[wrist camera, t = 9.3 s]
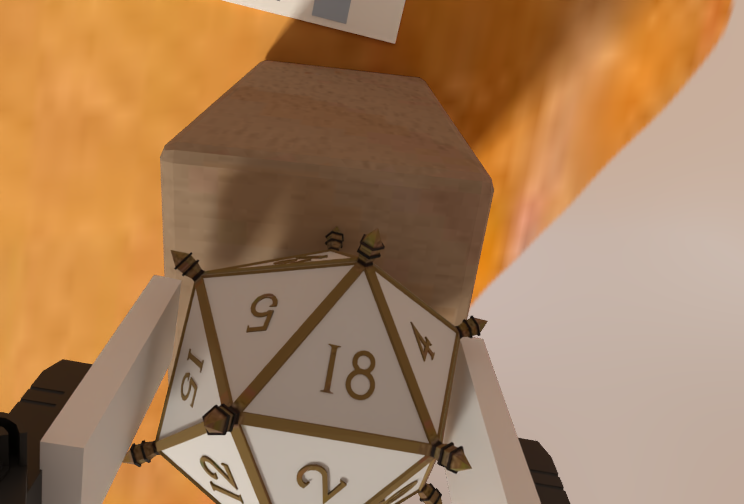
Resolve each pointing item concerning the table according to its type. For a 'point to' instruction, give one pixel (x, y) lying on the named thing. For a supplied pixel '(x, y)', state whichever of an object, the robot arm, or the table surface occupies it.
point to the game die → (309, 383)
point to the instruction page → (340, 14)
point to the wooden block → (327, 180)
